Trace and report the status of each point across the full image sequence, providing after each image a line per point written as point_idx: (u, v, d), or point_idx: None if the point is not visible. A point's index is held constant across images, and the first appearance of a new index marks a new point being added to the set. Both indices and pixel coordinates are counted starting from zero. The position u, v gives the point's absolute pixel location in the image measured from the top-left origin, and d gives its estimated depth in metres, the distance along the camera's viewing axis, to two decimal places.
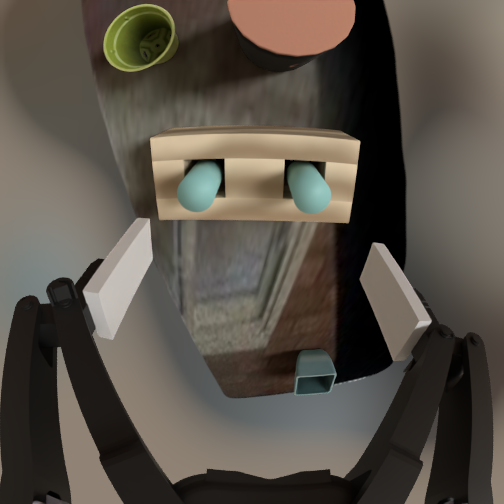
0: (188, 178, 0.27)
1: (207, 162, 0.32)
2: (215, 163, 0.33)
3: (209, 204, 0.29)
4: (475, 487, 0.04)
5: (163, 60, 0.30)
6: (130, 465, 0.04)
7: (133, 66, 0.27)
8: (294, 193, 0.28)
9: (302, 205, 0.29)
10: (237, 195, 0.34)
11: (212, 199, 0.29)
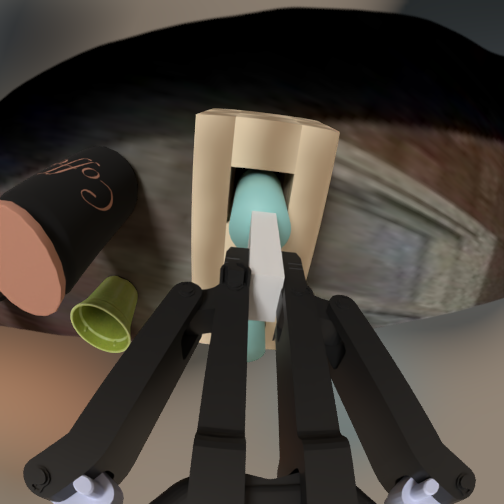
0: None
1: None
2: None
3: (257, 340, 0.24)
4: (429, 459, 0.05)
5: (130, 297, 0.37)
6: (221, 455, 0.05)
7: None
8: None
9: None
10: None
11: (251, 337, 0.23)
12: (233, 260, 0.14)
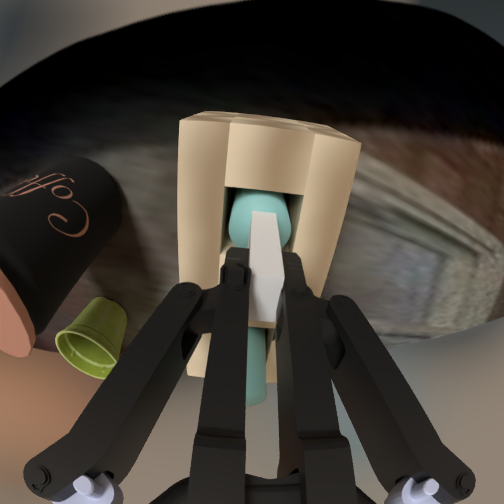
0: None
1: None
2: None
3: (257, 388, 0.20)
4: (429, 459, 0.05)
5: (118, 321, 0.33)
6: (221, 455, 0.05)
7: None
8: None
9: None
10: None
11: (250, 385, 0.19)
12: (233, 260, 0.14)
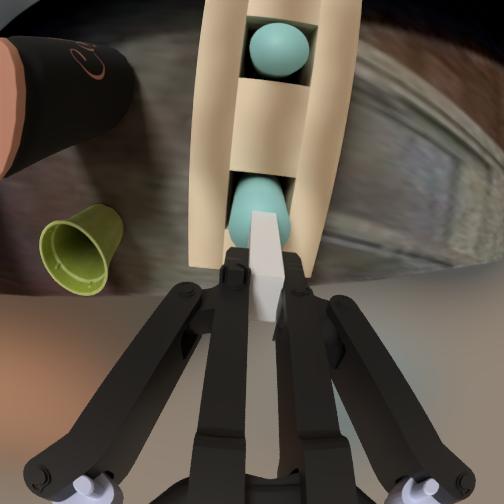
0: (231, 234, 0.18)
1: None
2: (241, 176, 0.23)
3: (280, 211, 0.17)
4: (429, 459, 0.05)
5: (113, 225, 0.30)
6: (221, 455, 0.05)
7: None
8: (273, 72, 0.16)
9: (293, 62, 0.16)
10: (295, 158, 0.20)
11: (272, 205, 0.17)
12: (233, 260, 0.14)
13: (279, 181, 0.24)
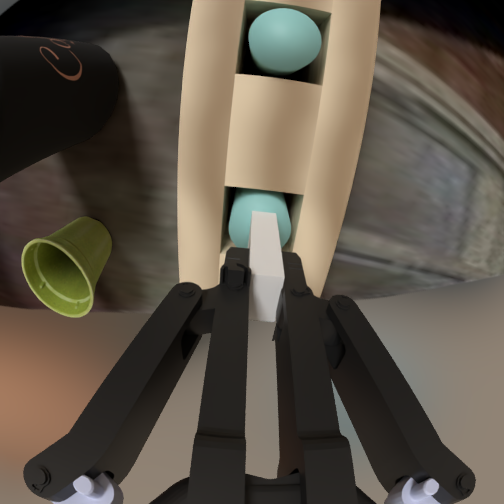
0: (231, 235, 0.18)
1: None
2: None
3: (280, 211, 0.17)
4: (429, 459, 0.05)
5: (99, 241, 0.27)
6: (221, 455, 0.05)
7: None
8: (277, 67, 0.13)
9: (302, 55, 0.12)
10: (303, 172, 0.17)
11: (272, 205, 0.17)
12: (233, 260, 0.14)
13: None
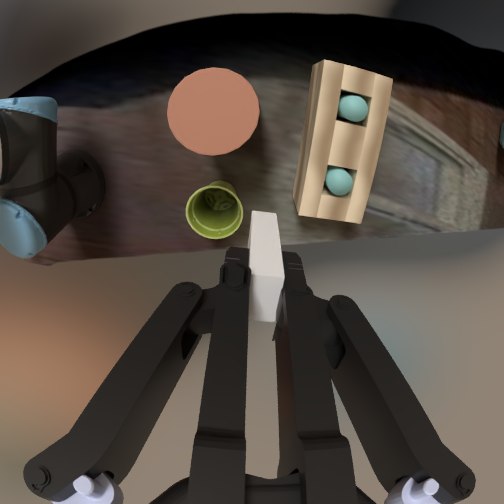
0: (329, 185, 0.41)
1: None
2: None
3: (349, 176, 0.41)
4: (429, 459, 0.05)
5: (235, 194, 0.50)
6: (221, 455, 0.05)
7: (237, 217, 0.48)
8: (351, 120, 0.36)
9: (360, 116, 0.35)
10: (357, 161, 0.40)
11: (346, 173, 0.40)
12: (233, 260, 0.14)
13: None
